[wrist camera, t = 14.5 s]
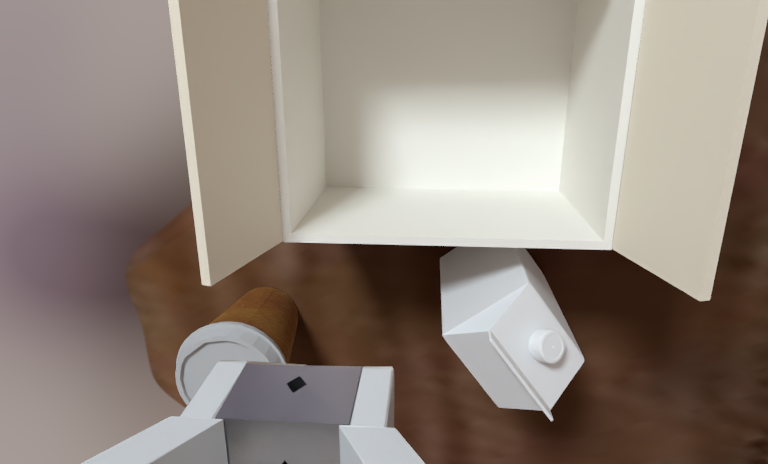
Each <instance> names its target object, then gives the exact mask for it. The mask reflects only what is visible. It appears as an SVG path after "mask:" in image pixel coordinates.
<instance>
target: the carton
mask: <svg viewBox="0 0 768 464" xmlns="http://www.w3.org/2000/svg"><path fill="white" fill-rule="evenodd" d="M645 2H646V0H267V6H268V21H269V36H270V51H271V66H272V81H273V96H274V111H275V127H276V142H277V157H278V172H279V187H280V202H281V217H282V232H283V242H302V243H343V244H384V245H425V246H465V247H506V248H547V249H588V250H612V243H613V235H614V228H615V221H616V213H617V206H618V199H619V191H620V184H621V177H622V170H623V162H624V155H625V148H626V140H627V133H628V126H629V119H630V111H631V104H632V97H633V89H634V82H635V75H636V67H637V60H638V53H639V46H640V38H641V31H642V24H643V16H644V9H645Z"/></svg>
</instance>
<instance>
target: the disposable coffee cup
mask: <svg viewBox="0 0 768 464" xmlns="http://www.w3.org/2000/svg"><path fill="white" fill-rule="evenodd" d="M298 320H299V315H298V310H297V307H296V305H295V304H294V302H293V300H292V299H291V298H290V297H289V296H288V295H287V294H285V293H284V292H282V291H280V290H278V289H276V288H271V287H258V288H255V289H253V290H250V291H249V292H247V293H246V294H245V295H244V296H243V297H241V298H240V299H239V300H238V301H237V302H235V303H234V304H233V305H232V306H231V307H229V308H228V309H227V310H226V311H225V312H223V313H222V314H221V315H220V316H219V317H217V318H216V319H215V320H214V321H213V322H212V323H210V324H209V325H207V326H204V327H201V328H199V329H198V330H196V331H195V332H193V333H192V334H191V335H190V336H189V337H188V338H187V339H186V340H185V341H184V343H183V344H182V345H181V348H180V350H179V352H178V356H177V360H176V372H175V376H176V385H177V388H178V390H179V393H180V395H181V397H182V398H183V400H184V402H185V403H186V404H187V405H188V404H189V402H190V401H191V399H192V398H193V396H194V395H195V394H196V392H197V391H198V389H199V388H200V386H201V385H202V383H203V382H204V380H205V379H206V378H207V376H208V375H209V373H210V372H211V370H212V369H213V367H214V366H215V364H216V363H217V362H218V361H221V360H241V361H249V362H251V361H256V362H272V363H288V364H289V362H290V356H291V352H292V348H293V344H294V338H295V334H296V330H297V325H298Z"/></svg>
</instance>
